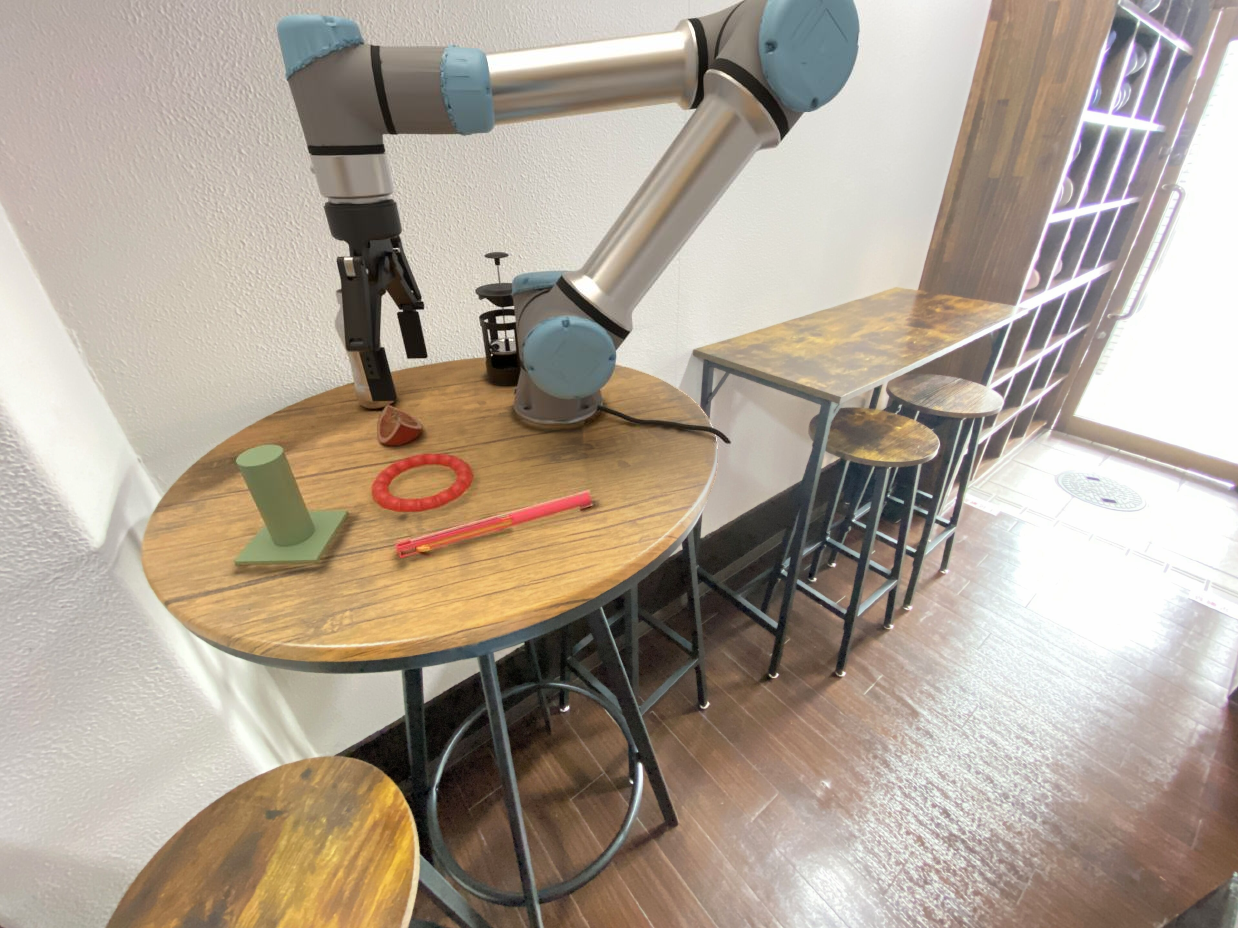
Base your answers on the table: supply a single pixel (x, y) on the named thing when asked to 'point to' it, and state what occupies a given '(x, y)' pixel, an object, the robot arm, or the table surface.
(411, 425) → the fruit slice
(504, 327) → the french press
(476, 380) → the table surface
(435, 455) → the ring
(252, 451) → the post
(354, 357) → the plastic bottle
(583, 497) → the red ballpoint pen
